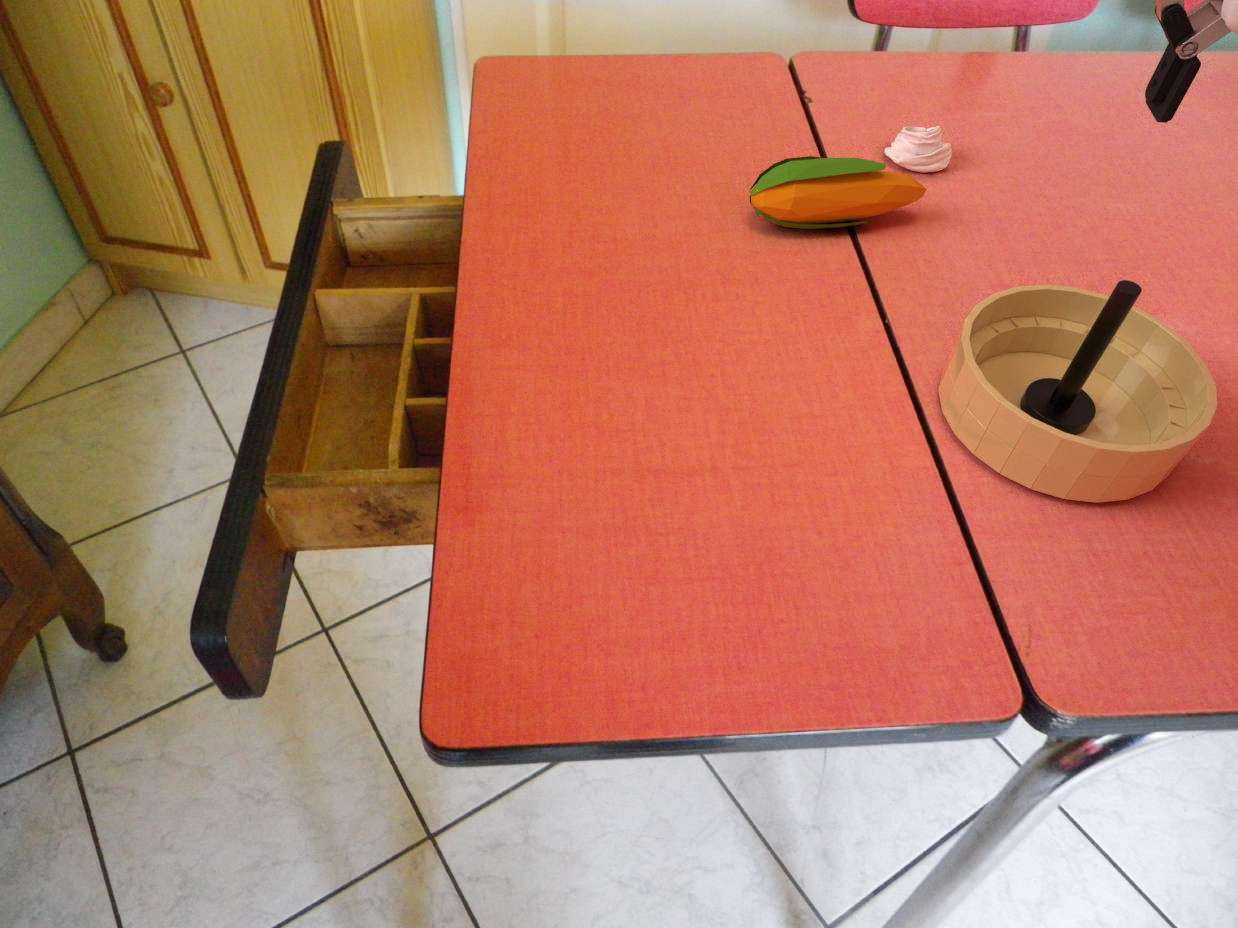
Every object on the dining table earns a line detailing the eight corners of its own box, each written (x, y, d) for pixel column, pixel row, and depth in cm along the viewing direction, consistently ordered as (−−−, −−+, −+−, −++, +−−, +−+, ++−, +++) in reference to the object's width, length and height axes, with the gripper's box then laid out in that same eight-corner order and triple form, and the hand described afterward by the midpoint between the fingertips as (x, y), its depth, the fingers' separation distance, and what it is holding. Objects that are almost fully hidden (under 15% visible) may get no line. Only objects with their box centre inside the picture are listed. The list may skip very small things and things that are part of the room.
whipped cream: (889, 181, 104) (899, 147, 100) (873, 148, 107) (882, 113, 103) (953, 175, 104) (965, 140, 100) (935, 142, 108) (946, 107, 104)
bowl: (1196, 404, 79) (1240, 347, 73) (1136, 547, 68) (1183, 493, 63) (985, 314, 86) (1011, 257, 81) (900, 431, 75) (924, 373, 70)
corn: (748, 143, 92) (924, 135, 94) (737, 202, 98) (903, 194, 100) (763, 185, 87) (948, 176, 89) (751, 244, 94) (924, 234, 96)
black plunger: (1097, 408, 77) (1179, 283, 66) (1077, 447, 74) (1159, 322, 63) (1032, 379, 79) (1102, 254, 69) (1010, 416, 76) (1079, 290, 65)
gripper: (1280, -201, 40) (1111, 136, 54) (1664, -177, 40) (1397, 161, 53) (1226, -236, 45) (1083, 81, 58) (1567, -215, 44) (1344, 103, 57)
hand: (1232, 119), depth 55 cm, fingers open, 9 cm apart
